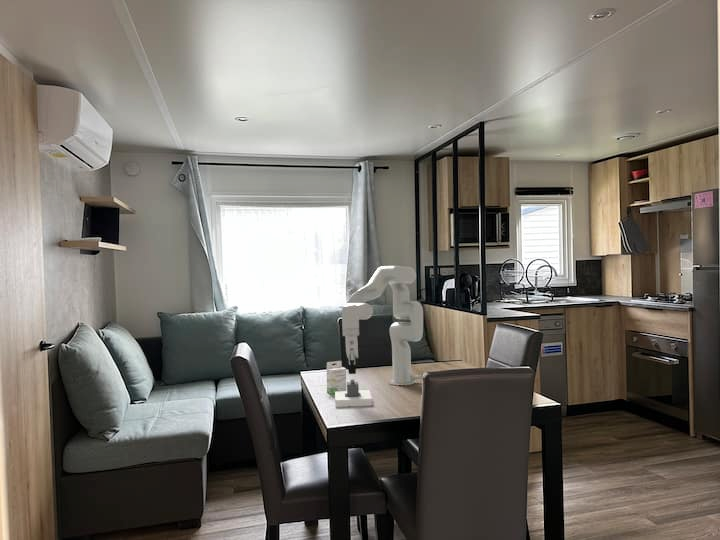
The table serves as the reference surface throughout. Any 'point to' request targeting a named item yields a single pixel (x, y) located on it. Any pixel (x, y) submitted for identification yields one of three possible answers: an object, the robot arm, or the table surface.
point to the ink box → (336, 377)
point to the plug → (352, 389)
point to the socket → (353, 399)
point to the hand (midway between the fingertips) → (352, 372)
